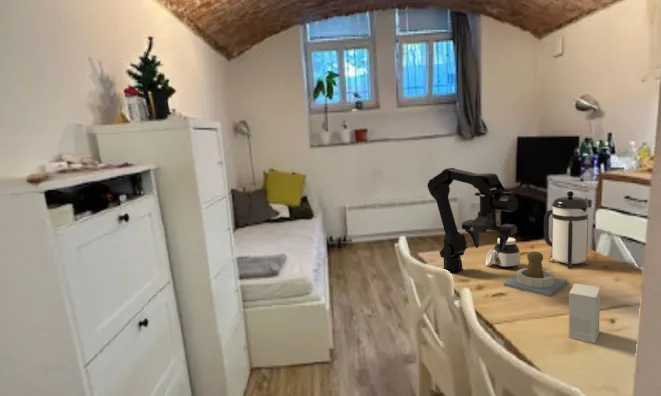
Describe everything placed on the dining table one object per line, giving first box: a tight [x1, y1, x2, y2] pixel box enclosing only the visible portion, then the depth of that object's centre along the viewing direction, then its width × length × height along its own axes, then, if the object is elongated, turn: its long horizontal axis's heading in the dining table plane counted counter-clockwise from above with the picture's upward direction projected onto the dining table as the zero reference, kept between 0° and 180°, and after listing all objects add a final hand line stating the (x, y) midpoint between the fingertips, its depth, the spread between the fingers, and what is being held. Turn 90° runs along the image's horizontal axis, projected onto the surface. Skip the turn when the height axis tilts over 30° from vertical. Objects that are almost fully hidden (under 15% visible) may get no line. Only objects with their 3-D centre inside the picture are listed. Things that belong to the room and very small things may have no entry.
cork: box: [526, 251, 544, 278], centre depth 145 cm, size 6×6×11 cm
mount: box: [503, 267, 568, 297], centre depth 146 cm, size 16×16×4 cm
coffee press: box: [543, 190, 591, 270], centre depth 163 cm, size 17×16×30 cm
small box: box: [568, 283, 601, 344], centre depth 109 cm, size 8×6×13 cm
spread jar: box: [485, 236, 521, 270], centre depth 166 cm, size 12×11×12 cm
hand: (488, 249), depth 148 cm, fingers open, 9 cm apart
